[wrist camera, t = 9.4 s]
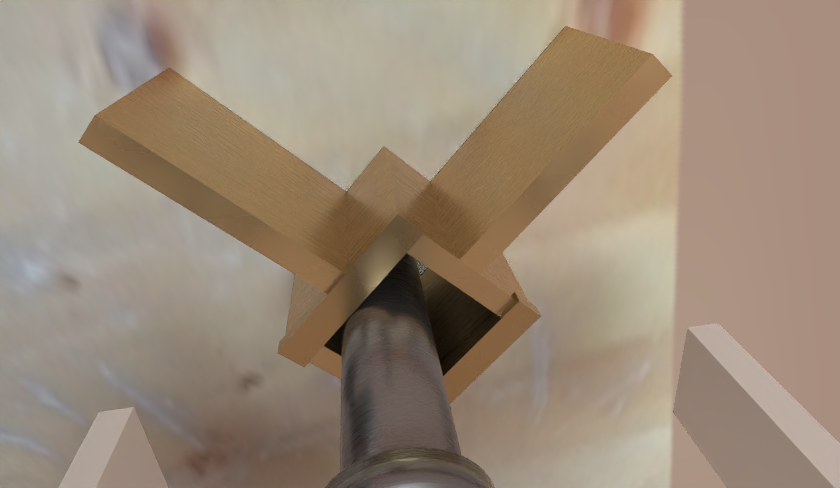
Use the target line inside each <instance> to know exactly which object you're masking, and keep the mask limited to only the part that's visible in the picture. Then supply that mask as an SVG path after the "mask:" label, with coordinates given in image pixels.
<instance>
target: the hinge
mask: <svg viewBox="0 0 840 488" xmlns="http://www.w3.org/2000/svg"><path fill="white" fill-rule="evenodd" d="M671 76H672V75H671V74H670V73H669V72H668V70H667V69H666V68H665V67H664V66H663V65H662V64H661V63H660V62H659V61H658V59H657V58H656V57H655V56H654V55H653V54H651V53H648V52H644V51H641V50H638V49H635V48H632V47H629V46H626V45H623V44H620V43H617V42H614V41H610V40H607V39H604V38H601V37H598V36H595V35H592V34H589V33H586V32H583V31H580V30H576V29H573V28H570V27H567V26H565V28H564V29H563V30H562V31H561V32H560V33H559V35H558V36H557V37H556V38H555V39H554V40H553V41H552V43H551V44H550V45H549V46H548V47H547V48H546V49H545V51H544V52H543V53H542V54H541V55H540V56H539V58H538V59H537V60H536V61H535V62H534V63H533V64H532V66H531V67H530V68H529V69H528V70H527V71H526V73H525V74H524V75H523V76H522V77H521V78H520V79H519V81H518V82H517V83H516V84H515V85H514V86H513V87H512V89H511V90H510V91H509V92H508V93H507V94H506V96H505V97H504V98H503V99H502V100H501V101H500V102H499V104H498V105H497V106H496V107H495V108H494V109H493V111H492V112H491V113H490V114H489V115H488V116H487V117H486V119H485V120H484V121H483V122H482V123H481V124H480V125H479V127H478V128H477V129H476V130H475V131H474V132H473V134H472V135H471V136H470V137H469V138H468V139H467V140H466V142H465V143H464V144H463V145H462V146H461V147H460V149H459V150H458V151H457V152H456V153H455V154H454V155H453V157H452V158H451V159H450V160H449V161H448V162H447V163H446V165H445V166H444V167H443V168H442V169H441V170H440V172H439V173H438V174H437V175H436V176H435V177H434V178H433V180H432V181H431V182H430V181H428V180H427V179H426V178H425V177H423V176H422V175H421V174H419V173H418V172H417V171H415V170H414V169H413V168H411V167H410V166H409V165H408V164H406V163H405V162H404V161H402V160H401V159H400V158H398V157H397V156H396V155H394V154H393V153H392V152H391V151H389V150H388V149H387V148H385V147H383V148H382V149H381V150H380V152H379V153H378V154H377V155H376V157H375V158H374V159H373V160H372V161H371V163H370V164H369V165H368V166H367V168H366V169H365V170H364V171H363V172H362V174H361V175H360V176H359V177H358V179H357V180H356V181H355V182H354V184H353V185H352V186H351V187H350V188H349V190H348V191H347V192H345V191H344V190H343V189H341V188H340V187H338V186H337V185H335V184H334V183H333V182H331V181H330V180H328V179H327V178H325V177H324V176H323V175H321V174H320V173H318V172H317V171H316V170H314V169H313V168H311V167H310V166H308V165H307V164H306V163H304V162H303V161H301V160H300V159H298V158H297V157H296V156H294V155H293V154H291V153H290V152H288V151H287V150H286V149H284V148H283V147H281V146H280V145H279V144H277V143H276V142H274V141H273V140H271V139H270V138H269V137H267V136H266V135H264V134H263V133H261V132H260V131H259V130H257V129H256V128H254V127H253V126H251V125H250V124H249V123H247V122H246V121H244V120H243V119H242V118H240V117H239V116H237V115H236V114H234V113H233V112H232V111H230V110H229V109H227V108H226V107H224V106H223V105H222V104H220V103H219V102H217V101H216V100H214V99H213V98H212V97H210V96H209V95H207V94H206V93H205V92H203V91H202V90H200V89H199V88H197V87H196V86H195V85H193V84H192V83H190V82H189V81H187V80H186V79H185V78H183V77H182V76H180V75H179V74H177V73H176V72H175V71H173V70H172V69H170V68H168V69H166V70H165V71H163V72H162V73H160V74H159V75H157V76H155V77H154V78H152V79H151V80H149V81H148V82H146V83H144V84H143V85H141V86H140V87H138V88H137V89H135V90H134V91H132V92H130V93H129V94H127V95H126V96H124V97H123V98H121V99H119V100H118V101H116V102H115V103H113V104H112V105H110V106H109V107H107V108H105V109H104V110H102V111H101V112H99V113H98V114H96V115H95V116H94V118H93V119H92V121H91V123H90V124H89V126H88V127H87V129H86V131H85V132H84V134H83V136H82V137H81V139H80V140H79V142H78V143H80V144H82V145H83V146H85V147H87V148H88V149H90V150H92V151H93V152H95V153H97V154H98V155H100V156H101V157H103V158H105V159H106V160H108V161H110V162H111V163H113V164H115V165H116V166H118V167H120V168H121V169H123V170H124V171H126V172H128V173H129V174H131V175H133V176H134V177H136V178H138V179H139V180H141V181H143V182H144V183H146V184H147V185H149V186H151V187H152V188H154V189H156V190H157V191H159V192H161V193H162V194H164V195H166V196H167V197H169V198H170V199H172V200H174V201H175V202H177V203H179V204H180V205H182V206H184V207H185V208H187V209H189V210H190V211H192V212H193V213H195V214H197V215H198V216H200V217H202V218H203V219H205V220H207V221H208V222H210V223H212V224H213V225H215V226H216V227H218V228H220V229H221V230H223V231H225V232H226V233H228V234H230V235H231V236H233V237H235V238H236V239H238V240H239V241H241V242H243V243H244V244H246V245H248V246H249V247H251V248H253V249H254V250H256V251H258V252H259V253H261V254H262V255H264V256H266V257H267V258H269V259H271V260H272V261H274V262H276V263H277V264H279V265H281V266H282V267H284V268H285V269H287V270H289V271H290V272H292V273H294V274H295V278H294V284H293V290H292V297H291V303H290V309H289V316H288V322H287V328H286V335H285V336H284V338H283V339H282V340H281V341H280V343H279V348H278V353H279V354H281V355H283V356H284V357H286V358H288V359H290V360H292V361H294V362H296V363H297V364H299V365H301V366H303V367H305V366H306V365H307V364H308V363H309V362H310V363H312V364H314V365H316V366H318V367H319V368H321V369H323V370H325V371H327V372H329V373H330V374H332V375H334V376H336V377H338V378H340V379H341V366H342V325H343V323H344V322H345V321H346V320H347V319H348V318H349V317H350V316H351V314H352V313H353V312H354V311H355V310H356V309H357V308H358V307H359V306H360V304H361V303H362V302H363V301H364V300H365V299H366V298H367V297H368V296H369V294H370V293H371V292H372V291H373V290H374V289H375V288H376V287H377V285H378V284H379V283H380V282H381V281H382V280H383V279H384V278H385V277H386V275H387V274H388V273H389V272H390V271H391V270H392V269H393V268H394V266H395V265H396V264H397V263H398V262H399V261H400V260H401V259H402V258H403V256H404V255H405V254H406V253H408V254H409V255H411V256H412V257H414V258H415V259H416V260H418V261H419V262H421V263H422V264H424V265H425V266H427V267H428V268H427V269H426V270H425V272H424V273H423V274H422V275H421V276H420V279H421V284H422V288H423V292H424V297H425V301H426V305H427V309H428V314H429V318H430V322H431V327H432V331H433V335H434V340H435V344H436V348H437V353H438V357H439V361H440V366H441V370H442V374H443V378H444V383H445V387H446V391H447V396H448V400H449V404H450V403H451V402H452V401H453V400H454V399H455V398H456V397H457V396H458V395H460V394H461V393H462V392H463V391H464V390H465V389H466V388H467V387H468V386H469V385H470V384H471V383H472V382H473V381H474V380H475V379H476V378H477V377H478V376H479V375H480V374H481V373H482V372H483V371H484V370H485V369H486V368H488V367H489V366H490V365H491V364H492V363H493V362H494V361H495V360H496V359H497V358H498V357H499V356H500V355H501V354H502V353H503V352H504V351H505V350H506V349H507V348H508V347H509V346H510V345H511V344H512V343H513V342H515V341H516V340H517V339H518V338H519V337H520V336H521V335H522V334H523V333H524V332H525V331H526V330H527V329H528V328H529V327H530V326H531V325H532V324H533V323H534V322H535V321H536V320H537V319H538V318H539V317H540V314H539V312H538V310H537V308H536V307H535V306H534V305H532V304H531V303H530V302H528V301H527V299H526V297H525V295H524V293H523V291H522V289H521V287H520V286H519V284H518V282H517V280H516V278H515V276H514V274H513V272H512V270H511V268H510V267H509V265H508V263H507V261H506V259H505V257H504V255H503V253H502V252H503V251H504V250H505V249H506V248H507V247H508V246H509V245H510V244H511V243H512V242H513V241H514V240H515V238H516V237H517V236H518V235H519V234H520V233H521V232H522V231H523V230H524V229H525V228H526V227H527V226H528V225H529V224H530V223H531V222H532V221H533V220H534V219H535V218H536V217H537V216H538V215H539V214H540V213H541V211H542V210H543V209H544V208H545V207H546V206H547V205H548V204H549V203H550V202H551V201H552V200H553V199H554V198H555V197H556V196H557V195H558V194H559V193H560V192H561V191H562V190H563V189H564V188H565V187H566V186H567V184H568V183H569V182H570V181H571V180H572V179H573V178H574V177H575V176H576V175H577V174H578V173H579V172H580V171H581V170H582V169H583V168H584V167H585V166H586V165H587V164H588V163H589V162H590V161H591V160H592V159H593V157H594V156H595V155H596V154H597V153H598V152H599V151H600V150H601V149H602V148H603V147H604V146H605V145H606V144H607V143H608V142H609V141H610V140H611V139H612V138H613V137H614V136H615V135H616V134H617V133H618V132H619V130H620V129H621V128H622V127H623V126H624V125H625V124H626V123H627V122H628V121H629V120H630V119H631V118H632V117H633V116H634V115H635V114H636V113H637V112H638V111H639V110H640V109H641V108H642V107H643V106H644V105H645V103H646V102H647V101H648V100H649V99H650V98H651V97H652V96H653V95H654V94H655V93H656V92H657V91H658V90H659V89H660V88H661V87H662V86H663V85H664V84H665V83H666V82H667V81H668V80H669V79H670V78H671Z"/></svg>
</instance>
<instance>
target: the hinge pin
mask: <svg viewBox="0 0 840 488" xmlns="http://www.w3.org/2000/svg"><path fill="white" fill-rule="evenodd" d="M325 488H495V487H494V485H493V483H492V481H491V479H490V477H489V476H488V475H487V474H486V473H485V471H484V470H483V469H481V468H480V467H479V466H478V465H477V464H475V463H474V462H472V461H471V460H469V459H467V458H465V457H463V456H461V452H460V447H459V443H458V439H457V435H456V430H455V426H454V422H453V417H452V413H451V409H450V404H449V400H448V396H447V391H446V387H445V383H444V378H443V374H442V370H441V366H440V361H439V357H438V353H437V348H436V344H435V340H434V335H433V331H432V327H431V322H430V318H429V314H428V309H427V305H426V301H425V297H424V292H423V288H422V284H421V279H420V275H419V271H418V266H417V262H416V259H415V258H414V257H412V256H411V255H409V254H408V253H406V254H405V255H404V256H403V258H402V259H401V260H400V261H399V262H398V263H397V264H396V265H395V266H394V268H393V269H392V270H391V271H390V272H389V273H388V274H387V275H386V277H385V278H384V279H383V280H382V281H381V282H380V283H379V284H378V285H377V287H376V288H375V289H374V290H373V291H372V292H371V293H370V294H369V296H368V297H367V298H366V299H365V300H364V301H363V302H362V303H361V304H360V306H359V307H358V308H357V309H356V310H355V311H354V312H353V313H352V314H351V316H350V317H349V318H348V319H347V320H346V321H345V322H344V323H343V325H342V366H341V448H340V473H339V474H338V475H337V476H336V477H334V478H333V479H332V480H331V481H330V482H329V484H328V485H327V486H326V487H325Z"/></svg>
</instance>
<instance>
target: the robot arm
mask: <svg viewBox="0 0 840 488" xmlns="http://www.w3.org/2000/svg"><path fill="white" fill-rule="evenodd" d="M673 413H674V414H675V416H676V417H677V418H678V420H679V421H680V423H681V424H682V426H683V427H684V428H685V430H686V431H687V433H688V434H689V435H690V437H691V438H692V440H693V441H694V442H695V444H696V445H697V447H698V448H699V449H700V451H701V452H702V454H703V455H704V456H705V458H706V459H707V460H708V462H709V463H710V465H711V466H712V467H713V469H714V470H715V472H716V473H717V474H718V476H719V477H720V479H721V480H722V481H723V483H724V484H725V486H726V487H727V488H840V444H839V443H838V442H837V441H836V440H835V439H834V438H833V437H832V436H831V435H830V434H829V433H828V432H827V431H826V430H825V429H824V428H823V427H822V426H821V425H820V424H819V423H818V422H817V421H816V420H815V419H814V418H813V417H812V416H811V415H810V414H809V413H808V412H807V411H806V410H805V409H804V408H803V407H802V406H801V405H800V404H799V403H798V402H797V401H796V400H795V399H794V398H793V397H792V396H791V395H790V394H789V393H788V392H787V391H786V390H785V389H784V388H783V387H782V386H781V385H780V384H779V383H778V382H777V381H775V379H774V378H773V377H771V375H770V374H769V373H768V372H767V371H766V370H765V369H764V368H763V367H761V365H759V363H758V362H756V361H755V360H754V359H753V358H752V357H751V356H750V355H749V354H748V353H747V352H746V351H745V350H744V349H743V348H742V347H741V346H740V345H739V344H738V343H737V342H736V341H735V340H734V339H733V338H732V337H731V336H730V335H729V334H728V333H727V332H726V331H725V330H724V329H723V328H722V327H721V326H720V325H719V324H718V323H716V324H708V325H702V326H695V327H688V328H687V333H686V339H685V345H684V351H683V357H682V362H681V368H680V374H679V380H678V386H677V391H676V397H675V403H674V409H673ZM58 488H168V485H167V483H166V481H165V478H164V476H163V474H162V471H161V469H160V467H159V464H158V462H157V460H156V457H155V455H154V453H153V450H152V448H151V446H150V443H149V441H148V439H147V436H146V434H145V432H144V429H143V427H142V425H141V422H140V420H139V418H138V415H137V413H136V411H135V408H134V407H129V408H122V409H115V410H108V411H101V412H99V413H98V415H97V416H96V418H95V420H94V422H93V424H92V426H91V428H90V429H89V431H88V433H87V435H86V437H85V439H84V441H83V442H82V444H81V446H80V448H79V450H78V452H77V454H76V455H75V457H74V459H73V461H72V463H71V465H70V467H69V468H68V470H67V472H66V474H65V476H64V478H63V480H62V481H61V483H60V485H59V487H58Z"/></svg>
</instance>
